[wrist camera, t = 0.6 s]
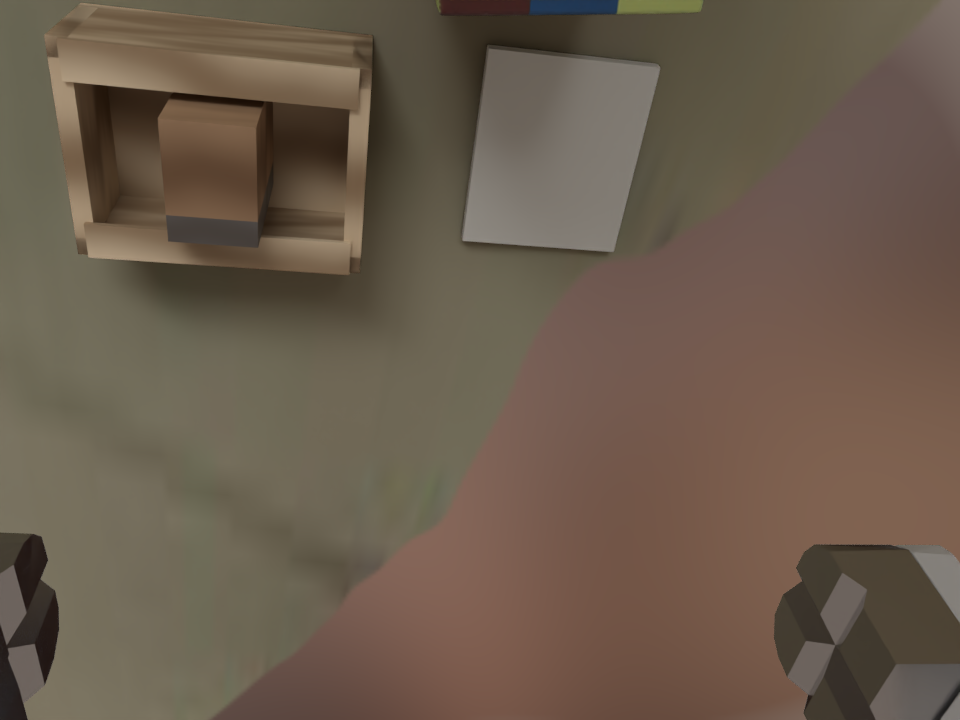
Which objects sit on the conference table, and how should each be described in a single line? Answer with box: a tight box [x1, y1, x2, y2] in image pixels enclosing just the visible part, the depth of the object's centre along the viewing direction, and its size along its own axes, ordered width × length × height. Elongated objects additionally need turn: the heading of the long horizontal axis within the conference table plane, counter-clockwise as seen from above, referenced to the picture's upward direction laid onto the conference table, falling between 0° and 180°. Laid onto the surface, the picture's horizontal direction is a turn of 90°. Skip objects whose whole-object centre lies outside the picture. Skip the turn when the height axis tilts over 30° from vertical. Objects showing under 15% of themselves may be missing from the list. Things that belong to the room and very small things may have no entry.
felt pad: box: [462, 45, 660, 252], centre depth 52 cm, size 12×10×1 cm
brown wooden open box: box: [44, 3, 373, 275], centre depth 46 cm, size 12×15×6 cm
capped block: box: [158, 92, 273, 248], centre depth 45 cm, size 6×4×8 cm
